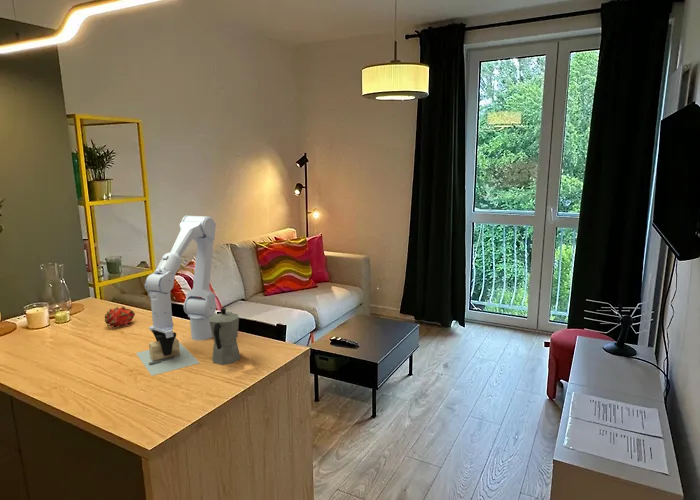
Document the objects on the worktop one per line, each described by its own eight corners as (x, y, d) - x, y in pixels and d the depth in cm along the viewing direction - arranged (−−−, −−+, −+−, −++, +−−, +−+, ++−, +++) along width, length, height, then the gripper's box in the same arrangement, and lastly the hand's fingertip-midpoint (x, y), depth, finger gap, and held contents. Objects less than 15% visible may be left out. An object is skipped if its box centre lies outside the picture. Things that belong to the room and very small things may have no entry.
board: (180, 346, 155) (179, 342, 155) (200, 367, 139) (199, 362, 139) (136, 357, 147) (135, 353, 146) (152, 380, 131) (151, 375, 131)
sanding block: (176, 351, 147) (175, 336, 146) (179, 355, 144) (178, 340, 143) (150, 357, 143) (148, 342, 142) (153, 362, 140) (151, 346, 139)
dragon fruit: (102, 334, 171) (133, 329, 180) (112, 325, 166) (143, 320, 176) (96, 314, 173) (127, 310, 183) (106, 304, 169) (137, 301, 179)
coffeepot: (217, 354, 149) (214, 301, 145) (246, 354, 149) (243, 301, 145) (202, 376, 133) (198, 318, 130) (234, 376, 133) (230, 317, 130)
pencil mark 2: (173, 357, 143) (173, 355, 143) (174, 358, 142) (174, 356, 142) (161, 360, 141) (161, 358, 141) (162, 361, 140) (162, 359, 140)
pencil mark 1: (160, 361, 140) (160, 359, 140) (161, 362, 139) (161, 360, 139) (148, 364, 138) (148, 362, 138) (149, 365, 137) (149, 363, 137)
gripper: (142, 308, 144) (146, 348, 147) (154, 320, 133) (158, 363, 135) (165, 303, 148) (169, 343, 151) (178, 315, 137) (182, 357, 139)
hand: (165, 352), depth 143 cm, fingers closed on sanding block, 4 cm apart
